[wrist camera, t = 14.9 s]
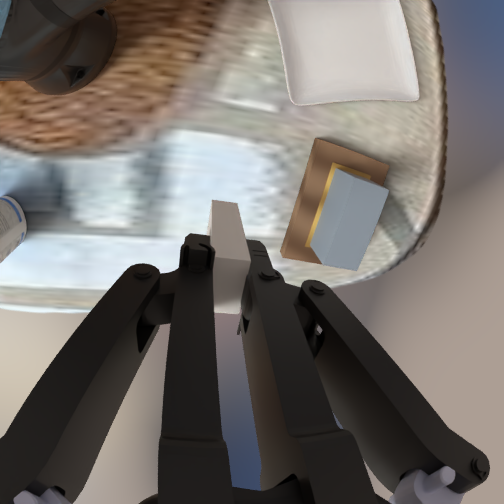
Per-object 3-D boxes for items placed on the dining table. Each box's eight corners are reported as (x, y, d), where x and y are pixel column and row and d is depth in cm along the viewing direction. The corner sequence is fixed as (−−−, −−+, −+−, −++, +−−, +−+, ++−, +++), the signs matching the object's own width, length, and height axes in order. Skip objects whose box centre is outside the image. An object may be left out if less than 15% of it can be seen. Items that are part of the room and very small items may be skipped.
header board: (315, 138, 36) (330, 142, 31) (382, 163, 38) (403, 171, 33) (280, 251, 43) (288, 270, 38) (345, 263, 46) (359, 281, 41)
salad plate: (285, 108, 34) (292, 107, 31) (256, -19, 24) (259, -29, 21) (409, 101, 34) (422, 102, 31) (383, -11, 24) (394, -17, 21)
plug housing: (340, 251, 42) (356, 270, 37) (309, 244, 41) (323, 265, 36) (367, 178, 37) (389, 190, 32) (335, 167, 36) (354, 177, 31)
